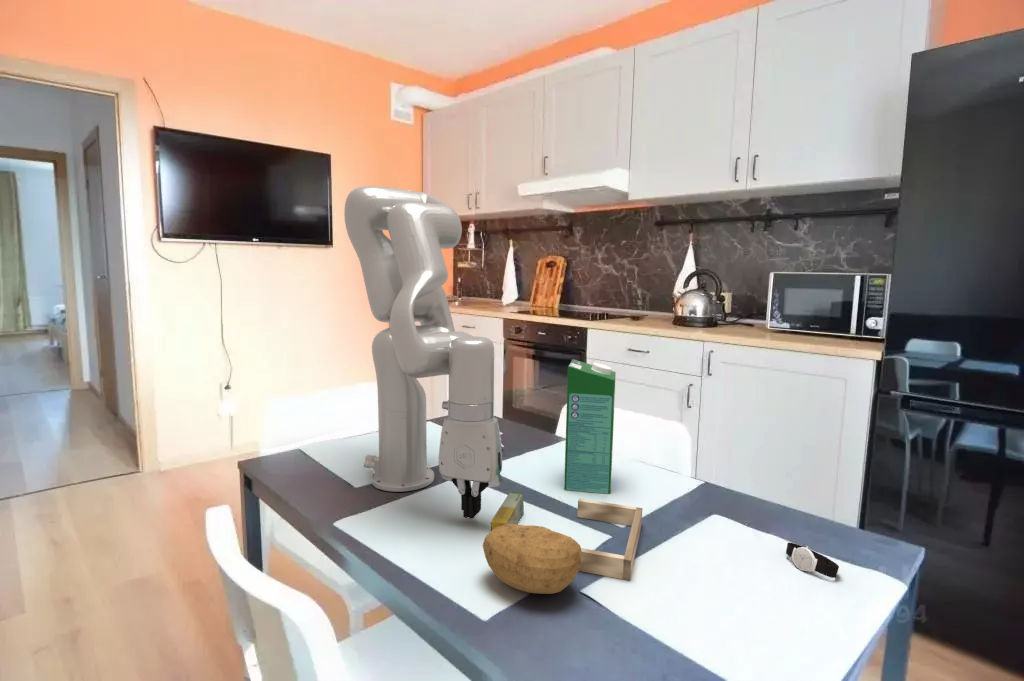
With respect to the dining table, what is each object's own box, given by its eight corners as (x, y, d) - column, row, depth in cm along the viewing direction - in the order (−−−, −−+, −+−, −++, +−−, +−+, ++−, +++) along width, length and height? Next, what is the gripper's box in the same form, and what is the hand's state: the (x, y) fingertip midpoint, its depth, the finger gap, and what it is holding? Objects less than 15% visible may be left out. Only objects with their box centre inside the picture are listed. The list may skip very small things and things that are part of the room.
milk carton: (610, 494, 105) (615, 368, 102) (564, 489, 107) (567, 365, 104) (611, 477, 114) (616, 360, 111) (568, 473, 116) (572, 358, 113)
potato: (501, 557, 82) (502, 506, 80) (590, 581, 75) (592, 527, 74) (467, 590, 73) (468, 534, 72) (565, 621, 67) (567, 560, 66)
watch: (777, 558, 83) (779, 536, 82) (798, 552, 85) (800, 530, 84) (824, 585, 76) (826, 561, 75) (846, 578, 78) (848, 554, 77)
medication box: (509, 512, 97) (509, 491, 97) (524, 514, 96) (524, 492, 96) (490, 544, 86) (490, 520, 85) (506, 546, 85) (506, 522, 84)
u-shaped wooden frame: (553, 566, 79) (554, 546, 79) (578, 514, 96) (579, 498, 96) (629, 580, 76) (630, 560, 75) (641, 524, 93) (642, 508, 92)
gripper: (420, 411, 89) (421, 517, 91) (505, 420, 84) (504, 531, 87) (441, 401, 96) (441, 500, 99) (520, 409, 92) (519, 512, 94)
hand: (471, 514), depth 93 cm, fingers closed
